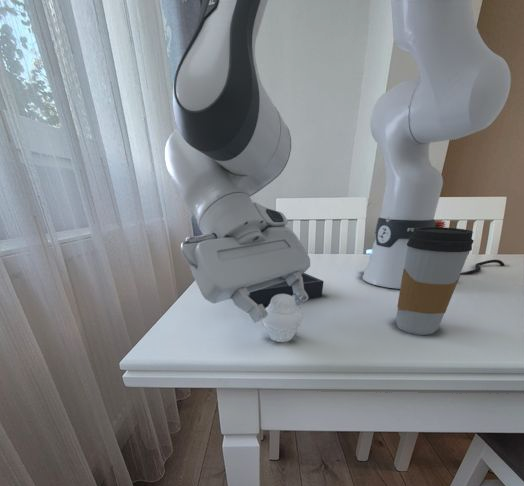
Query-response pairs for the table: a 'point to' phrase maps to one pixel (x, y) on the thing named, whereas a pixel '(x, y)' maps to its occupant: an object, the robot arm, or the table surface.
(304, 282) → the tray
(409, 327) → the coffee cup
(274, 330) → the muffin
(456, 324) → the table surface
